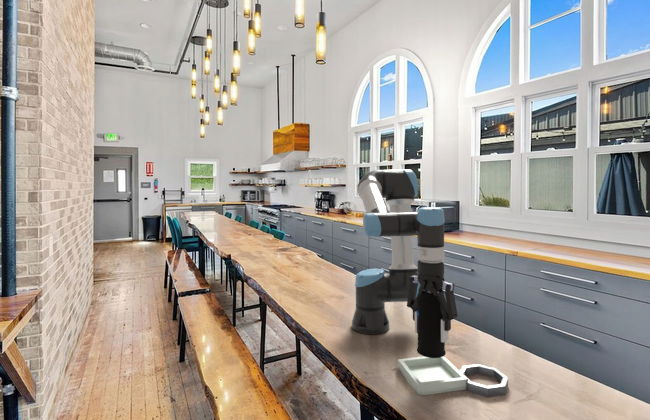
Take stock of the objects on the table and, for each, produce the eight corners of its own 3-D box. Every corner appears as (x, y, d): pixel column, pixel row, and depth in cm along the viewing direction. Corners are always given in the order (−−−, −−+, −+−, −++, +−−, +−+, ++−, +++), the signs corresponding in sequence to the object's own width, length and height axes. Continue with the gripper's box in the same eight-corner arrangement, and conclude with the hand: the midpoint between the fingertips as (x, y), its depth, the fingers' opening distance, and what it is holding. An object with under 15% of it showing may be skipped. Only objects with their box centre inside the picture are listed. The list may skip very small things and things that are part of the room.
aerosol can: (451, 353, 106) (451, 286, 104) (432, 361, 101) (432, 291, 100) (429, 343, 112) (429, 280, 111) (410, 350, 108) (410, 284, 107)
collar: (451, 375, 109) (451, 367, 109) (488, 370, 111) (488, 362, 111) (475, 399, 97) (475, 390, 97) (516, 393, 99) (517, 384, 99)
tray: (397, 368, 114) (397, 359, 113) (441, 363, 116) (441, 354, 116) (418, 395, 99) (418, 385, 99) (468, 389, 102) (468, 378, 101)
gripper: (394, 257, 111) (394, 329, 112) (457, 268, 95) (457, 352, 96) (409, 253, 115) (409, 323, 117) (471, 263, 99) (471, 343, 101)
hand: (431, 336), depth 107 cm, fingers closed on aerosol can, 8 cm apart
